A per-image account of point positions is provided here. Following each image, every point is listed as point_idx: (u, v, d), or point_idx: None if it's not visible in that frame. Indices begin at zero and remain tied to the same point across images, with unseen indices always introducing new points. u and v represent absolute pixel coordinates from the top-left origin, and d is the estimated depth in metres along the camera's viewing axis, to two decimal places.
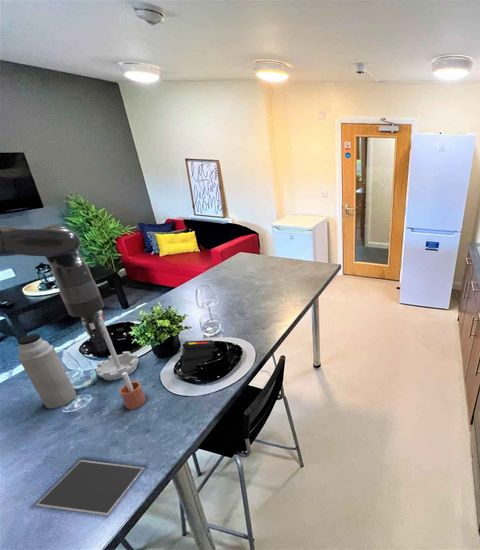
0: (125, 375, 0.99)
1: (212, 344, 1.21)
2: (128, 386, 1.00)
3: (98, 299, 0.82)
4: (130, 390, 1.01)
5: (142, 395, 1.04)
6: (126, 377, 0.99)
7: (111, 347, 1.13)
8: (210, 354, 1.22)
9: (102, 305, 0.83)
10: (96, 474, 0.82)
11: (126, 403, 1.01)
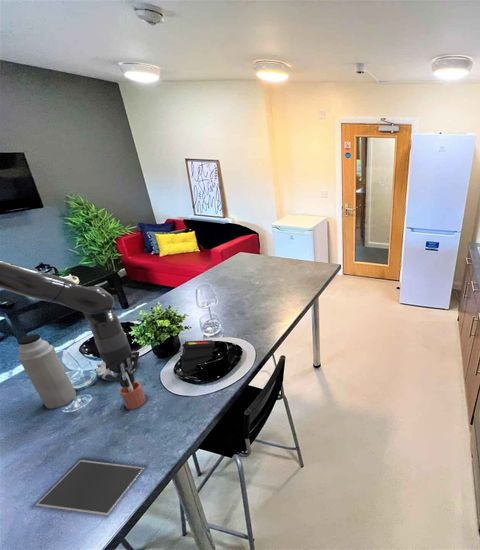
0: None
1: (212, 344, 1.21)
2: None
3: (117, 352, 0.92)
4: (130, 390, 1.01)
5: (142, 395, 1.04)
6: (126, 377, 0.99)
7: None
8: (210, 354, 1.22)
9: (121, 357, 0.94)
10: (96, 474, 0.82)
11: (126, 403, 1.01)
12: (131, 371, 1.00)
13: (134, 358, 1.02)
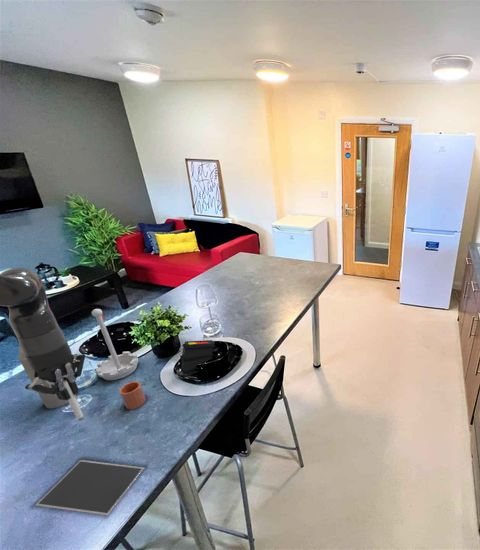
0: (64, 384, 0.78)
1: (212, 344, 1.21)
2: None
3: (49, 355, 0.71)
4: (72, 403, 0.80)
5: (142, 395, 1.04)
6: (66, 387, 0.78)
7: (111, 347, 1.13)
8: (210, 354, 1.22)
9: (56, 362, 0.73)
10: (96, 474, 0.82)
11: (126, 403, 1.01)
12: (73, 379, 0.79)
13: (78, 363, 0.80)
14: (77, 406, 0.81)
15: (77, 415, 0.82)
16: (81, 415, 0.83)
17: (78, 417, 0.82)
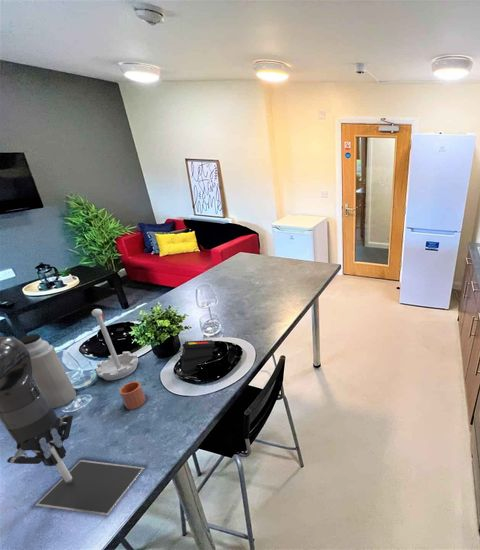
0: (50, 450, 0.74)
1: (212, 344, 1.21)
2: None
3: (31, 426, 0.67)
4: (60, 468, 0.76)
5: (142, 395, 1.04)
6: (52, 453, 0.74)
7: (111, 347, 1.13)
8: (210, 354, 1.22)
9: (39, 432, 0.69)
10: (96, 474, 0.82)
11: (126, 403, 1.01)
12: (59, 444, 0.75)
13: (65, 425, 0.77)
14: (65, 469, 0.78)
15: (66, 479, 0.78)
16: (70, 478, 0.79)
17: (67, 480, 0.78)
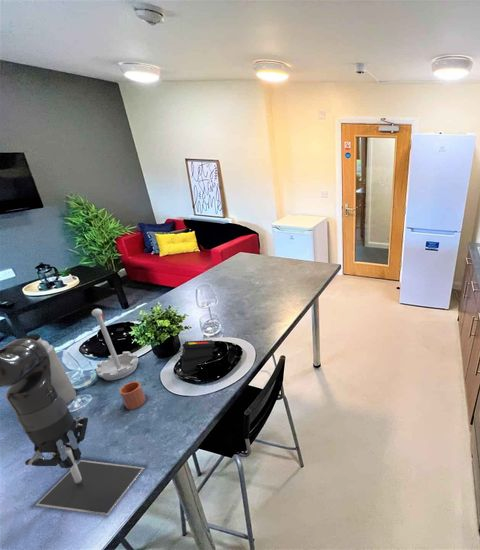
0: (67, 453, 0.74)
1: (212, 344, 1.21)
2: None
3: (49, 429, 0.67)
4: (72, 469, 0.76)
5: (142, 395, 1.04)
6: (69, 455, 0.74)
7: (111, 347, 1.13)
8: (210, 354, 1.22)
9: (57, 434, 0.69)
10: (96, 474, 0.82)
11: (126, 403, 1.01)
12: (75, 446, 0.75)
13: (80, 427, 0.76)
14: (77, 471, 0.77)
15: (76, 480, 0.78)
16: (80, 479, 0.79)
17: (76, 481, 0.78)
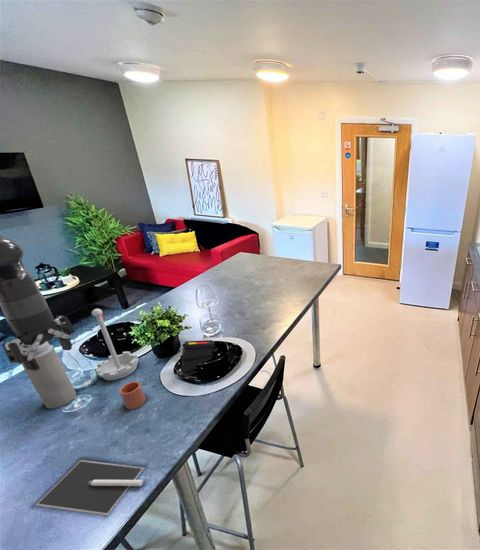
0: (139, 485, 0.79)
1: (212, 344, 1.21)
2: (120, 485, 0.79)
3: (30, 319, 0.74)
4: (113, 485, 0.79)
5: (142, 395, 1.04)
6: None
7: (111, 347, 1.13)
8: (210, 354, 1.22)
9: (37, 326, 0.75)
10: (96, 474, 0.82)
11: (126, 403, 1.01)
12: (66, 335, 0.84)
13: (64, 324, 0.84)
14: None
15: (95, 485, 0.78)
16: None
17: (93, 485, 0.78)
